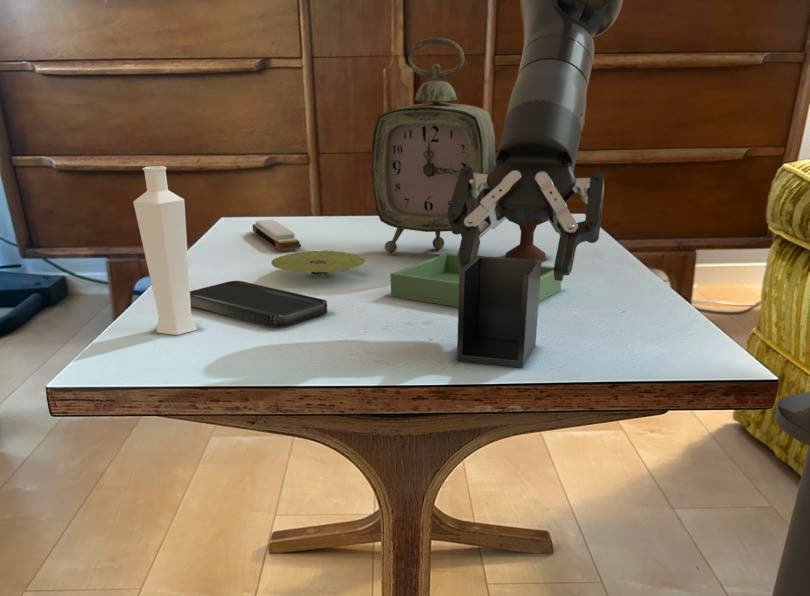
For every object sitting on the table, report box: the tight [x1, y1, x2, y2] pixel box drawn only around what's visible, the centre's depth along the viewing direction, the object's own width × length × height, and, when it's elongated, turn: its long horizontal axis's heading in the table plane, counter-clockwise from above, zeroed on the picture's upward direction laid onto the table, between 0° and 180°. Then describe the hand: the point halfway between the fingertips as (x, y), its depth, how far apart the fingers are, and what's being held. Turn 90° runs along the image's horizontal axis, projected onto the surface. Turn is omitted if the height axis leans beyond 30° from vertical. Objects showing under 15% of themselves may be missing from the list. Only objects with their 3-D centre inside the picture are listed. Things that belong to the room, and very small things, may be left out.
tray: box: [390, 252, 562, 308], centre depth 99 cm, size 15×12×2 cm
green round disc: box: [270, 250, 366, 278], centre depth 106 cm, size 11×11×2 cm
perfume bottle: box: [132, 165, 198, 336], centre depth 84 cm, size 5×4×15 cm
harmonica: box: [251, 219, 302, 251], centre depth 124 cm, size 15×3×2 cm, turn 23°
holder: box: [456, 255, 543, 368], centre depth 78 cm, size 6×6×8 cm
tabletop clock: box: [370, 37, 496, 254], centre depth 112 cm, size 14×9×25 cm, turn 73°
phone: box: [190, 280, 328, 328], centre depth 94 cm, size 8×1×15 cm
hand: (512, 272), depth 81 cm, fingers open, 8 cm apart
